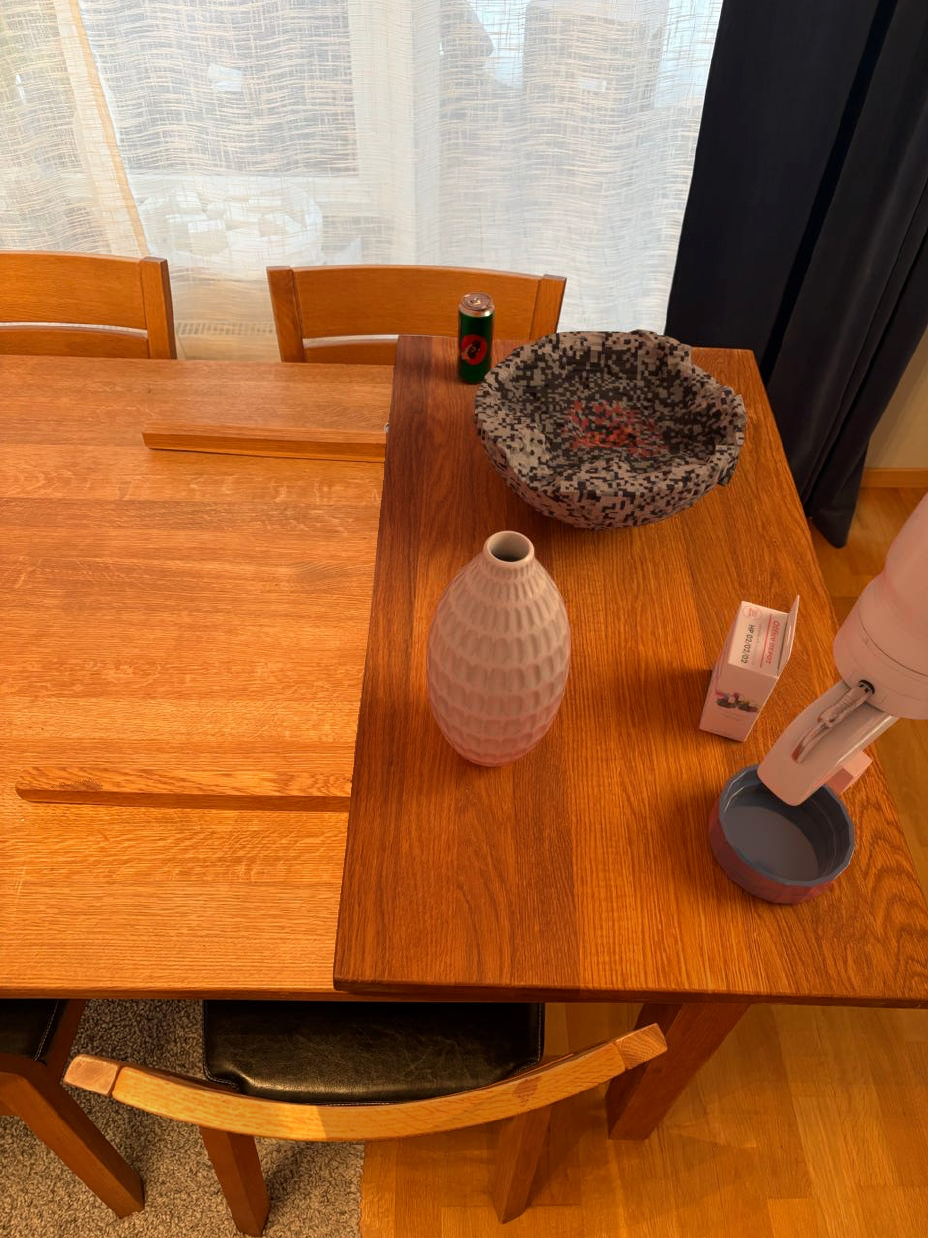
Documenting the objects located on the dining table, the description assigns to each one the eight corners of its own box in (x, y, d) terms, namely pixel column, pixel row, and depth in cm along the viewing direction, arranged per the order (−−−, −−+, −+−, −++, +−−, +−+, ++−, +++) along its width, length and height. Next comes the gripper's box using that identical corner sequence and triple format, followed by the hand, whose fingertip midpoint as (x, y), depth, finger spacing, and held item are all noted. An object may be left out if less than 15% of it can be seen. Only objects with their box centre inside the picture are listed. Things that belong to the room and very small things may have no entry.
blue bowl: (852, 824, 82) (871, 803, 78) (813, 932, 75) (831, 913, 72) (733, 764, 86) (746, 741, 82) (686, 861, 79) (698, 840, 76)
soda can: (497, 379, 125) (502, 304, 116) (467, 389, 124) (470, 314, 114) (479, 361, 128) (483, 287, 119) (450, 371, 126) (451, 295, 117)
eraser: (858, 779, 69) (874, 759, 66) (838, 796, 68) (853, 777, 65) (808, 735, 71) (821, 715, 69) (788, 752, 70) (801, 732, 68)
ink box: (710, 667, 93) (749, 577, 82) (756, 681, 92) (802, 591, 81) (696, 729, 88) (736, 642, 77) (745, 745, 87) (792, 659, 76)
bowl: (695, 421, 120) (724, 326, 109) (733, 588, 101) (772, 493, 89) (473, 412, 120) (478, 315, 109) (467, 577, 101) (471, 481, 89)
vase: (536, 812, 82) (575, 629, 60) (409, 777, 84) (402, 588, 62) (563, 705, 90) (606, 509, 68) (447, 676, 91) (452, 476, 70)
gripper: (853, 766, 52) (779, 860, 62) (1029, 612, 60) (937, 718, 71) (771, 696, 55) (714, 797, 65) (950, 559, 63) (873, 668, 74)
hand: (831, 755), depth 68 cm, fingers closed on eraser, 2 cm apart
